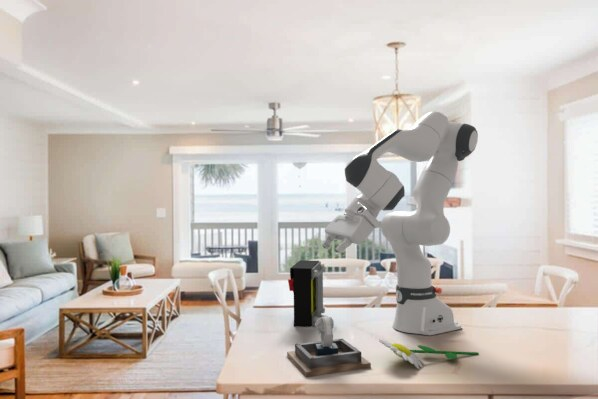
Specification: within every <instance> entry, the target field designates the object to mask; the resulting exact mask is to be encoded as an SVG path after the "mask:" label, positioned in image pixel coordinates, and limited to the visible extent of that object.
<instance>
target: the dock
mask: <svg viewBox="0 0 598 399" xmlns="http://www.w3.org/2000/svg"><path fill="white" fill-rule="evenodd" d="M333 343H335V344H336V345H337V347H338V354H331V355H323V356H316V346H315V344H322V342H321V340H320V341H319V340H318V341H311V342H304V343H295V345H294V350H291V351H286V356H287V357H288V359H289V360H290V361H291V362H292V363H293V365H295V366H296V367H297V368H298V370H299V371H300V372H301V373H302V374H303V375H304V376H305V378H307V377H314V376H321V375H329V373H330V374H335V373H336V372H337V373H342V372H350V371H357V370H365V369H369V368H371V367H372V364H371V361H369V360H368V359H366V358H364V357H363V356H362V351H360V350H359V349H358V348H357V347H355V346H353V345H352V344H350V343H349V342H348V341H347V340H345V339H344V338H335V339H334V338H333Z"/></svg>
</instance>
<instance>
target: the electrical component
mask: <svg viewBox="0 0 598 399" xmlns="http://www.w3.org/2000/svg"><path fill="white" fill-rule="evenodd" d="M325 267H326V266H325V264H324V263H322V262H321V261H320V260H305V259H304V260H301V259H300V260H299V261H297V262H296V263H295V264H294V265H292V266H291V267H290V268H289V277H290V278H289V279H287V281H288V288H289V291H290V292H291V291H292V292H293V327H296V328H297V327H300V328H313V327H315V323H316V321H317V320H318V319H319V318H320V316H321V315H322V314H325V313H326V308H325V306H324V283H323V282H324V277H323V275H324V274H323V273H324V272H323V271H324V270H325Z"/></svg>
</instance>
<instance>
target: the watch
mask: <svg viewBox="0 0 598 399" xmlns="http://www.w3.org/2000/svg"><path fill="white" fill-rule="evenodd" d="M334 323H335V322H334V318H332V317H331V316H329V315H328V316H326V315H324V316H321V317H319V319H318V320H317V321H316V323H315V325H314V327H316V329H317V330H318V334H319V335H320V341H321V342H322V344H315V346H316V356H323V355H331V354H338V347H337V345H336V344H335V343H333V340H334V334H333V330H334V329H333V327H334V325H335V324H334Z"/></svg>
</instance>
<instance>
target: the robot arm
mask: <svg viewBox="0 0 598 399" xmlns="http://www.w3.org/2000/svg"><path fill="white" fill-rule="evenodd" d="M478 135H479V134H478V131H477V129H476V127H475V126H473V125H471V124H468V123H461V122H457V121H456V122H455V121H451V120H449V119H448V118H447V116H446V115H445V114H444V113H443V112H440V111H430V112H429V111H428V112H426V113H425V114H424V115H422V116H421V117H419V119H418V120H416V121H415V123H413V125H411V127H410V128H409V129H399V128H397V129H395V130H393V131H391V132H390V133H388V134H386V136H384V137H383V138H381V139H380V140H378V141H377V142H375V143H374V144H373V145H372V146H370V147H368V149H366V150H364V151H362V152H361V153H360V154H357V155H356V156H354V157H353V158H352V159H351V160H349V162H348V163H347V164H346V166H345V168H344V176H345V181H346V182H347V183H348V184H350V185H351V186H352V187H354V188H356V189H357V190H358V191H360V193H359V194H358V195H356V197H355V198H354V199H353V200H352V201H351V202H350V203H349V205H348V206H347V207H346V208H345V209H344V213H343V214H339V215H337V216H336V217H335V218H334V219H333V220H332V221H331V222H329V223H328V225H327V226H326V228H325V229H324V233H325V234H326V237H325V240H324V241H323V242H322V244H321V246H322V248H323V249H326V250H328V249H329V248H330V246H331V243H332V241H334V240H339V241H342V242H341V243H340V244H337V245H336V247H334V250H335V251H336V253H339V254H341V253H343V252H344V251H345V249H348V247H350V246H352V244H353V245H354V244H355V245H361V244H362V243H364V242H365V241H366V240H367V238H368V237H369V236H370V235H371V234H372V233H373V232H374V229H378V227H379V226H380V229H381V233H382V235H383V236H384V238H385V239H386V240H387V241H388V242H389V244H390V246H391V248H392V251H393V254H394V257H395V262H396V273H397V274H396V276H397V283H396V286H395V297H396V298H395V299H396V308H395V316H394V321H393V323H392V327H393V329H394V330H396V331H399V332H403V333H407V334H408V333H409V334H417V335H418V334H419V335H424V336H434V335H438V334H443V333H446V332H447V333H448V332H452V331H457V330H461V329H462V325H461V323H459V322H458V321H456V320H455V317H454V313H453V310H452V308H451V306H449V305H447V304H446V303H445V302H444V301H442V300H441V299H440V298H438V297H437V294H439V295H441V294H442V293H443V288H441V287H438V286H436V287H435V286H433V285H432V264H431V261H430V259H429V258H428V257H426V255H425V254H424V253H423V252H422V249H421V247H420V246H426V247H429V246H430V247H431V246H438V245H442V244H444V243H445V242H446V241H447V240H448V238H449V237H450V233H451V226H450V222H449V220H448V218H447V217H446V216H445V213H444V212H445V211H444V206H445V204H446V203H445V202H446V201H447V198H448V195H449V193H450V190H451V189H452V186H453V183H454V181H455V179H456V175H457V171H458V166H459V162H462V161H464V160H465V159H466V158H467V157H469V156H470V155H472V153H473V152H474V151H475V149H476V147H477V146H478V145H477V144H478V141H479V140H478V138H479V136H478ZM386 153H387V154H388V153H390V154H391V153H392V154H394V155H398V156H400V157H402V158H404V159H406V160H408V161H410V162H417V163H418V162H425V161H427V163H426V164H425V166H424V167H423V170H422V172H421V173H420V176H419V177H418V179H417V182H416V183H415V186H414V188H413V190H412V196H413V198H414V200H415V202H416V203H417V206H416V209H415V210H397V211H396V210H395V211H393V210H394V209H395V208H396V207H397V205H398V204H399V202H401V200H402V199H403V198H404V197H405V193H406V192H405V186H404V185H403V183H402V182H401V181H400V179H399V177H398V176H397V175H396V174H395V173H394V172H392V171H390V170H387V169H386V168H385V167H384V166H383V165H382V164H380V163H379V161H378V159H380V158H381V157H382V156H384V155H385V154H386ZM381 211H385V212H386V211H391V212H388V213H386V214H385V215H384V216H383V217H382V219H381V223H380V221H379V219H377V217H378V216H379V214H380V212H381Z"/></svg>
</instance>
